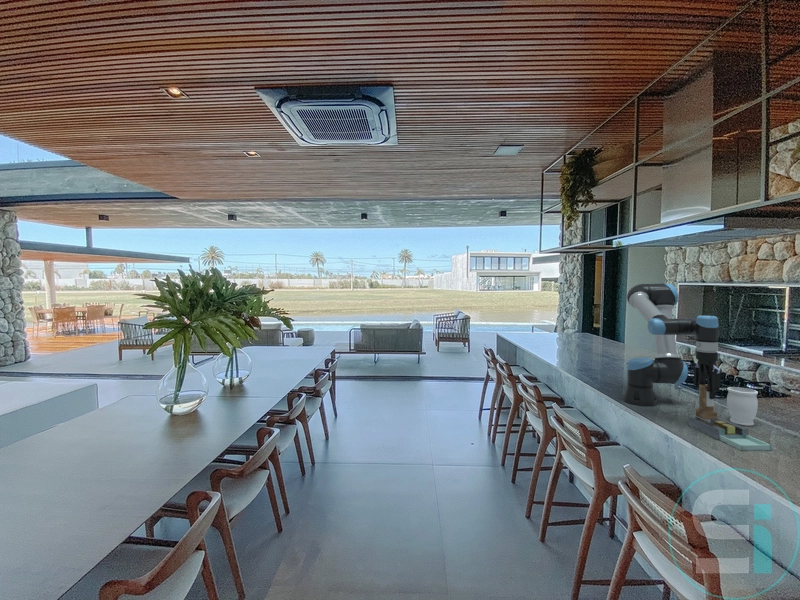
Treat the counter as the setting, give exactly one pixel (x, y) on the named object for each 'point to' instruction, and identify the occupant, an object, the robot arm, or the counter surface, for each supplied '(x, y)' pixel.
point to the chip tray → (746, 443)
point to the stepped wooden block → (704, 410)
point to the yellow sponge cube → (728, 428)
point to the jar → (742, 405)
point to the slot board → (730, 436)
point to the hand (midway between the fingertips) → (706, 404)
